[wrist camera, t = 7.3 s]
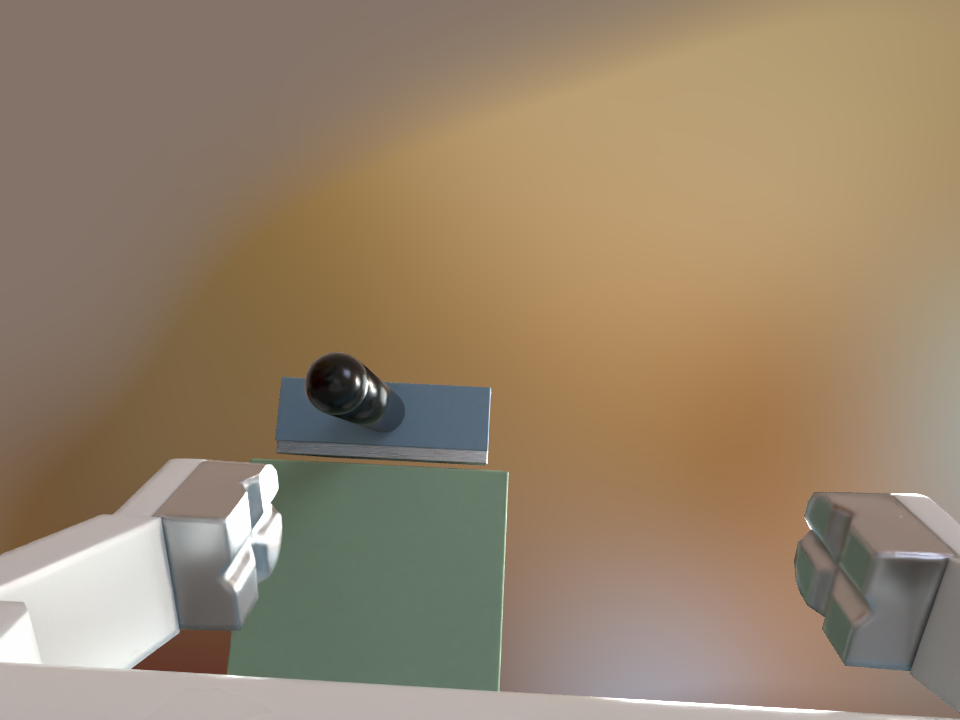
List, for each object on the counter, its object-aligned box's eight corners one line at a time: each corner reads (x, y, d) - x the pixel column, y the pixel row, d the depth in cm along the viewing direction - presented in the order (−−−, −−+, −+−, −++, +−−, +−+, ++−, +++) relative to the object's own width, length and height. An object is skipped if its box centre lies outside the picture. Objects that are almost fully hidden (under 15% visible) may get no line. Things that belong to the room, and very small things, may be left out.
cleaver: (491, 461, 19) (497, 341, 19) (155, 444, 19) (170, 326, 19) (485, 465, 42) (487, 410, 42) (333, 457, 42) (337, 403, 42)
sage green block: (480, 1142, 25) (508, 471, 29) (176, 1124, 25) (249, 458, 29) (480, 902, 39) (499, 470, 43) (284, 891, 39) (323, 461, 43)
